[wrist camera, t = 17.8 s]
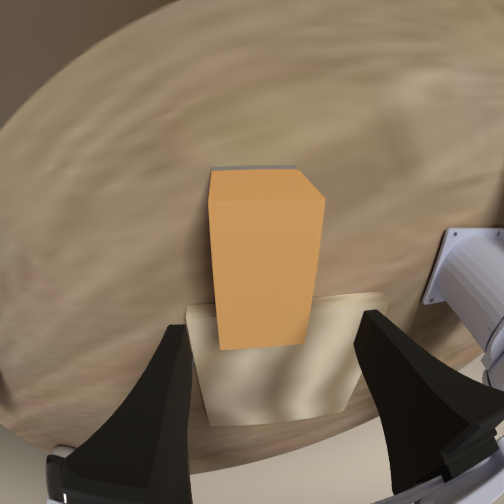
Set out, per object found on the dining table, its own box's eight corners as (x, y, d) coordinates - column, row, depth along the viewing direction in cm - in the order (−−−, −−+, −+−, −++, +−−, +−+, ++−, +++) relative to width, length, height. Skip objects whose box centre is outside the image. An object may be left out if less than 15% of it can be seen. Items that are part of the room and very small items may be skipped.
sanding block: (294, 165, 18) (325, 199, 13) (286, 284, 22) (304, 343, 17) (212, 166, 17) (208, 202, 12) (218, 288, 22) (220, 350, 17)
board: (382, 290, 24) (389, 301, 22) (339, 402, 33) (342, 411, 31) (187, 304, 22) (185, 318, 21) (209, 416, 31) (210, 426, 30)
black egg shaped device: (88, 446, 37) (78, 519, 24) (105, 464, 42) (99, 527, 29) (42, 433, 36) (27, 501, 23) (62, 454, 41) (53, 513, 28)
